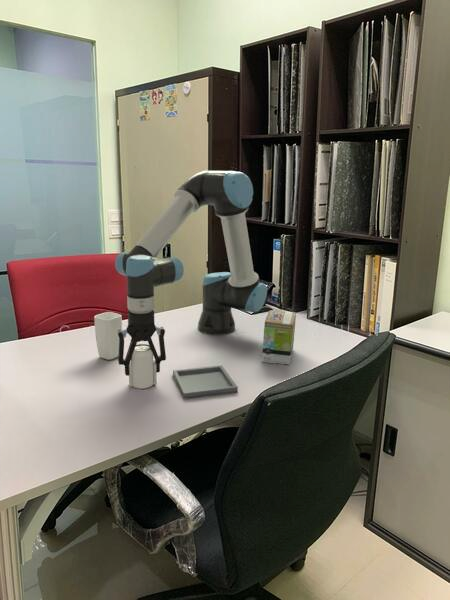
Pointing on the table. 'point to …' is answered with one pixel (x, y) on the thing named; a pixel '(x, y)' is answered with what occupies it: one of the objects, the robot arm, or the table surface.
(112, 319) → the cup
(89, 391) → the table surface
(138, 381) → the can
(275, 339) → the tea box
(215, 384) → the tray
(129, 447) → the table surface
